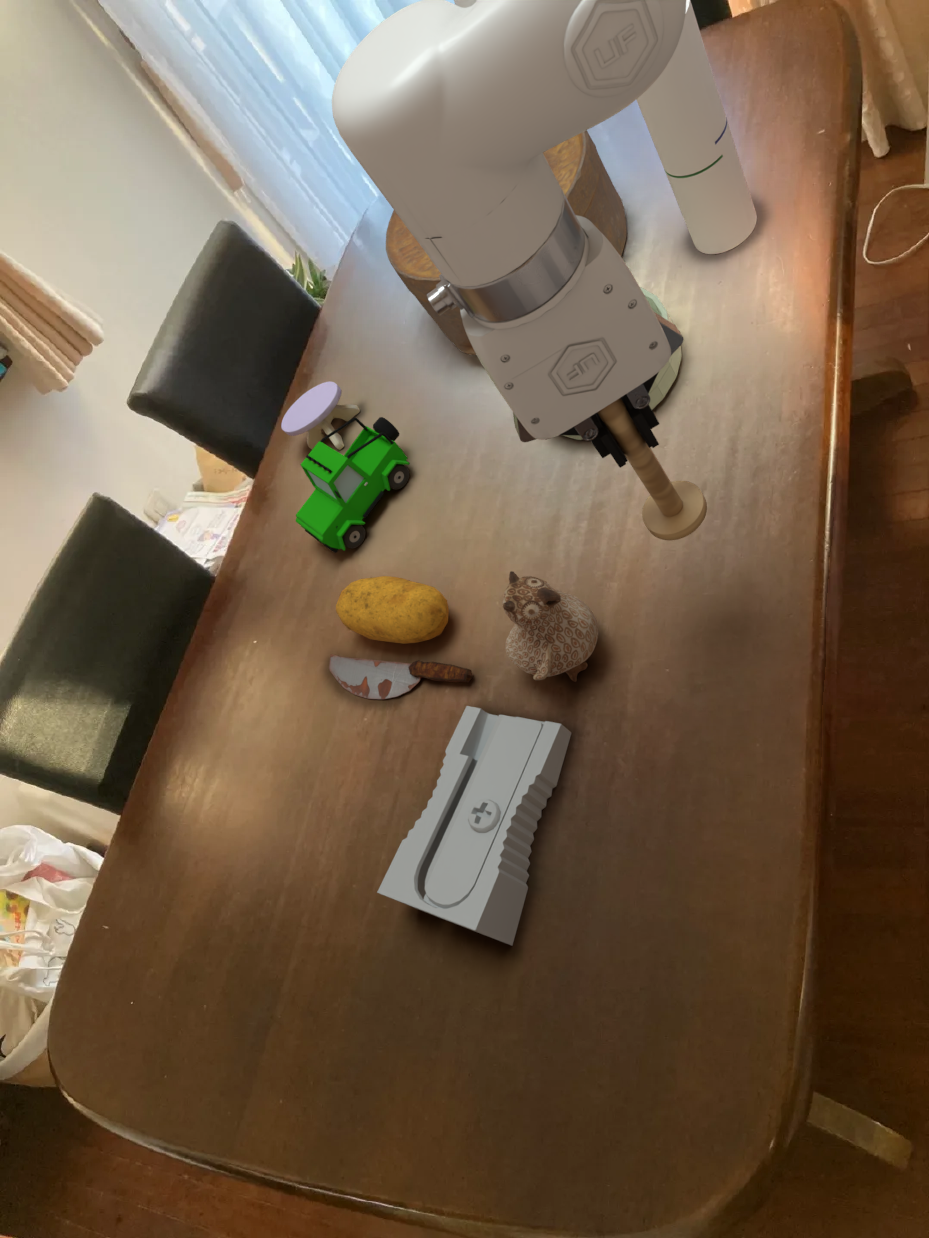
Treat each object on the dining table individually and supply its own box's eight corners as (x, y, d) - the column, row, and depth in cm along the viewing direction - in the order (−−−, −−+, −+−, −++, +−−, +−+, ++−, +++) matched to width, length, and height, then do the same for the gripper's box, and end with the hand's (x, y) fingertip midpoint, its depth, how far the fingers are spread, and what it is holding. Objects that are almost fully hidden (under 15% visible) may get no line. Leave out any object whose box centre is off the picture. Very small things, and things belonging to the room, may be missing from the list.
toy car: (315, 538, 109) (263, 500, 102) (393, 435, 110) (346, 389, 102) (349, 564, 104) (296, 526, 96) (430, 455, 104) (384, 408, 96)
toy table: (309, 468, 116) (281, 446, 112) (306, 423, 121) (280, 399, 116) (365, 437, 112) (338, 412, 108) (360, 391, 117) (334, 366, 113)
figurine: (617, 694, 77) (549, 633, 66) (526, 704, 82) (447, 650, 71) (617, 607, 81) (552, 536, 70) (529, 622, 86) (455, 558, 74)
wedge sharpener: (417, 909, 79) (374, 899, 74) (478, 713, 85) (442, 691, 79) (512, 945, 73) (472, 938, 68) (571, 731, 78) (539, 708, 73)
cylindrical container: (769, 206, 92) (705, -14, 72) (734, 258, 91) (660, 50, 72) (715, 201, 96) (641, -8, 77) (681, 250, 96) (599, 52, 77)
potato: (376, 588, 100) (340, 562, 94) (472, 599, 91) (438, 571, 86) (356, 642, 98) (317, 619, 92) (451, 659, 89) (415, 635, 84)
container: (496, 397, 101) (432, 311, 90) (414, 306, 119) (352, 224, 108) (677, 239, 97) (634, 129, 86) (564, 169, 115) (516, 70, 104)
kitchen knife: (316, 689, 97) (326, 648, 98) (326, 692, 98) (336, 652, 99) (457, 712, 84) (467, 665, 85) (466, 715, 86) (476, 668, 87)
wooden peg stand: (720, 500, 64) (654, 376, 53) (680, 550, 64) (606, 437, 53) (671, 478, 68) (600, 358, 56) (634, 526, 68) (555, 414, 56)
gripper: (412, 379, 45) (554, 536, 59) (671, 199, 41) (758, 417, 55) (386, 302, 50) (524, 465, 64) (618, 130, 45) (712, 349, 59)
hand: (631, 442), depth 59 cm, fingers closed on wooden peg stand
